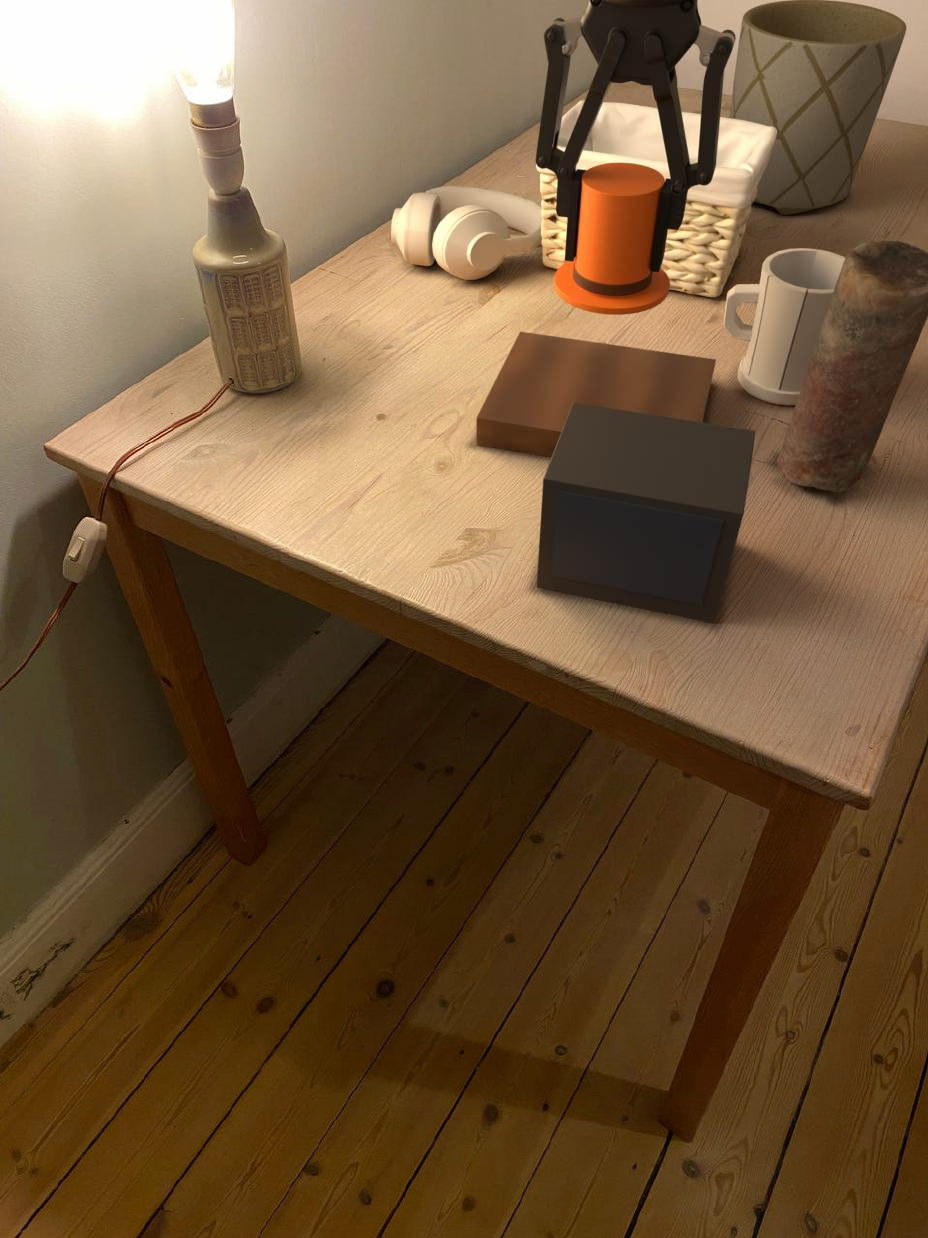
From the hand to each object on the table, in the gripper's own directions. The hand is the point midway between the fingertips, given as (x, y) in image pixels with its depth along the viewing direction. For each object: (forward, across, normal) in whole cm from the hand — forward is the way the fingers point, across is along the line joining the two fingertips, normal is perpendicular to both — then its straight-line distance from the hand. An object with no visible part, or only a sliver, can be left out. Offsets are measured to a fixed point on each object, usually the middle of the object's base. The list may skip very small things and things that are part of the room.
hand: (614, 258), depth 78 cm
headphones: (+16, +22, -30) cm, 40 cm away
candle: (+16, -21, +4) cm, 27 cm away
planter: (+16, -14, -59) cm, 63 cm away
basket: (+16, +1, -33) cm, 37 cm away
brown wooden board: (+16, 0, 0) cm, 16 cm away
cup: (+16, -16, -10) cm, 25 cm away
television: (+16, -7, +20) cm, 26 cm away
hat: (+2, 0, 0) cm, 2 cm away
